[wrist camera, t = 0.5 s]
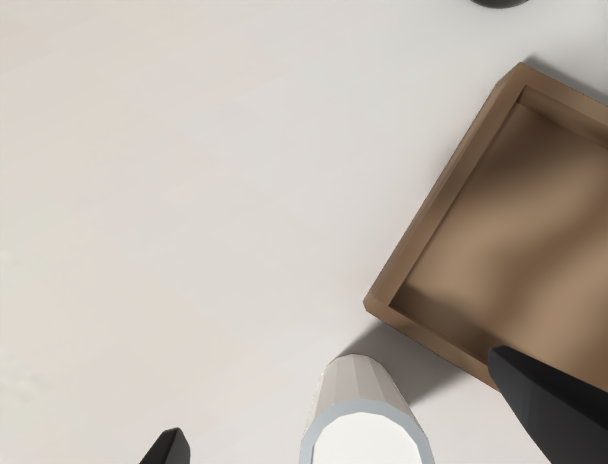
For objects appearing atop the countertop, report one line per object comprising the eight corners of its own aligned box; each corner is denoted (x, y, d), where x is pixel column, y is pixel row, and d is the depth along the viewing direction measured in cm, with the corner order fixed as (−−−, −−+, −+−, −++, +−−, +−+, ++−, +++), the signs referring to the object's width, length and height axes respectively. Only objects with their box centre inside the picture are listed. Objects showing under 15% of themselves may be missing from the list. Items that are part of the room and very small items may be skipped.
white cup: (290, 393, 23) (271, 468, 16) (349, 326, 22) (357, 371, 15) (361, 457, 22) (373, 562, 15) (423, 389, 22) (466, 466, 15)
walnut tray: (750, 213, 19) (812, 211, 17) (592, 441, 20) (628, 470, 18) (497, 82, 21) (519, 61, 18) (362, 301, 22) (366, 310, 19)
